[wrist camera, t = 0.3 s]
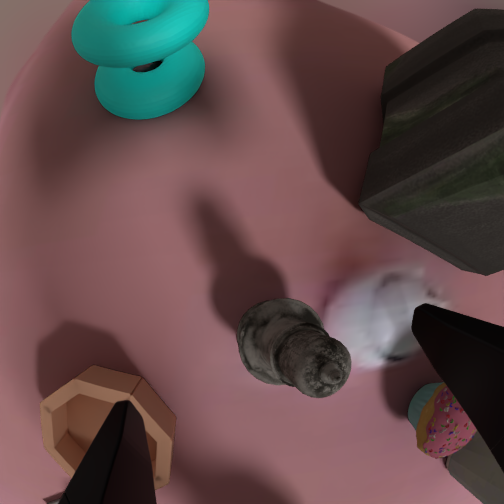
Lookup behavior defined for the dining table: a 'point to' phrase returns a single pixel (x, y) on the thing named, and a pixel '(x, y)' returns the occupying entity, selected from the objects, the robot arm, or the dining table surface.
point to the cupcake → (439, 421)
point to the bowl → (94, 414)
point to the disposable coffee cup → (478, 471)
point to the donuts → (142, 53)
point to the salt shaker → (292, 348)
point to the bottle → (445, 145)
